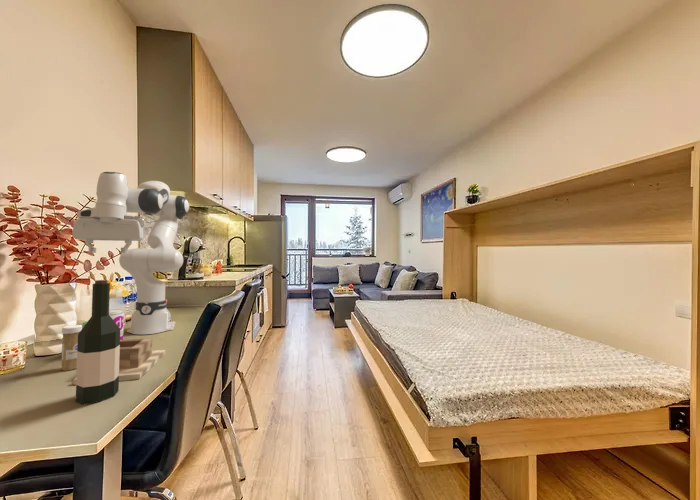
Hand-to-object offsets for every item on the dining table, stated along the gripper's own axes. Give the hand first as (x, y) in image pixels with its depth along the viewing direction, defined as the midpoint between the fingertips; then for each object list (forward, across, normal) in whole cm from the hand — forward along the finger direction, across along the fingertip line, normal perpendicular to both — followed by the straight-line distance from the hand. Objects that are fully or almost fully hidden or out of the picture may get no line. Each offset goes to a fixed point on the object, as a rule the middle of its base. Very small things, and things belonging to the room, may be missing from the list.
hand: (108, 252), depth 103 cm
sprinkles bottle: (+38, +5, +6) cm, 39 cm away
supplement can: (+36, +2, -10) cm, 38 cm away
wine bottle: (+41, -12, +29) cm, 51 cm away
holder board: (+38, -11, +9) cm, 41 cm away
